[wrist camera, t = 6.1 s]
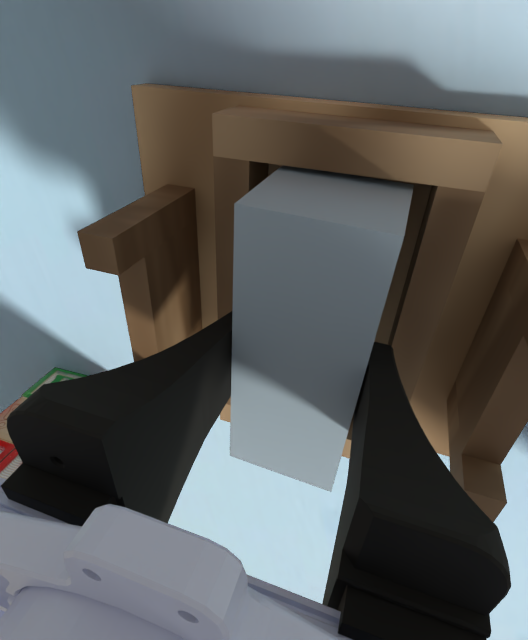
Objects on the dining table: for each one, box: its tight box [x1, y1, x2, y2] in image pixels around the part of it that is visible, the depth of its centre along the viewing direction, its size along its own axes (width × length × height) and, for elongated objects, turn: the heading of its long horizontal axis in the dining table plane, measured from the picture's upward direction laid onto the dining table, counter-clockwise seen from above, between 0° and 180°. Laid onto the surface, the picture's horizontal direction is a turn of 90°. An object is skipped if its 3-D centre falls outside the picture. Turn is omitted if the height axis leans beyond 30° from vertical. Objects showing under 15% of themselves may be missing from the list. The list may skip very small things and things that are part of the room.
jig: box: [77, 83, 528, 522], centre depth 15 cm, size 16×14×6 cm
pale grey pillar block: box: [230, 165, 414, 492], centre depth 14 cm, size 4×10×4 cm, turn 177°
